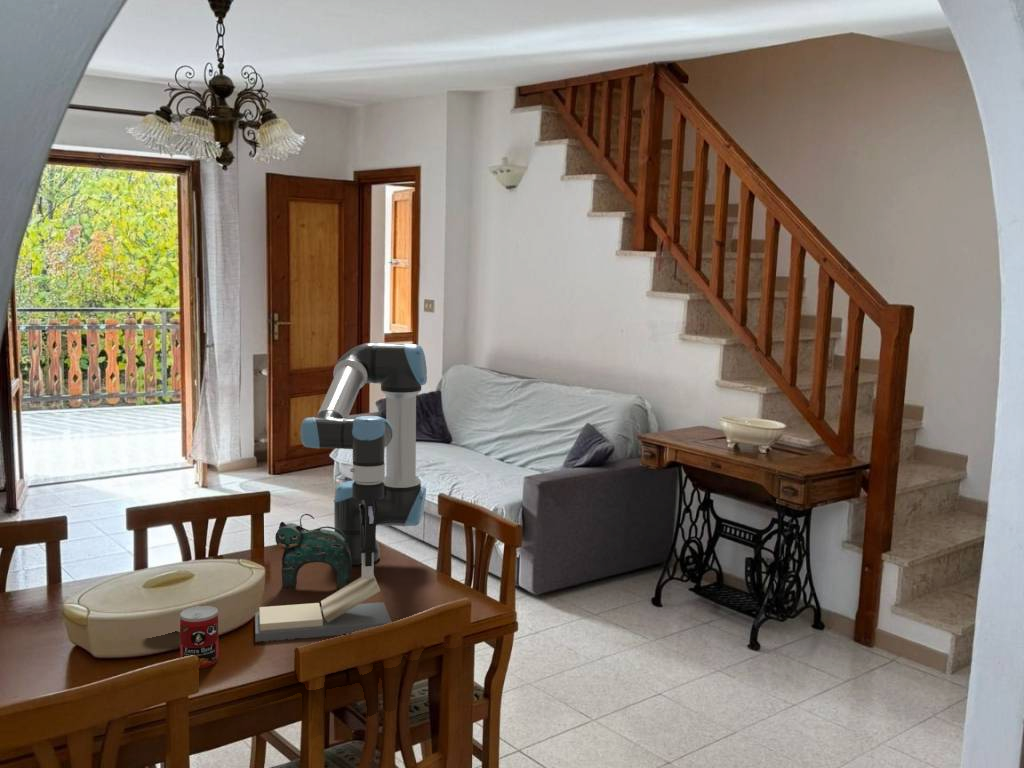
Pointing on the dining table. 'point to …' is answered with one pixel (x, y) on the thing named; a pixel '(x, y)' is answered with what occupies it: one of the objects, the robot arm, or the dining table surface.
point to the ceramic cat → (312, 551)
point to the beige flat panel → (348, 597)
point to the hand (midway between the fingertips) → (367, 577)
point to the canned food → (199, 634)
